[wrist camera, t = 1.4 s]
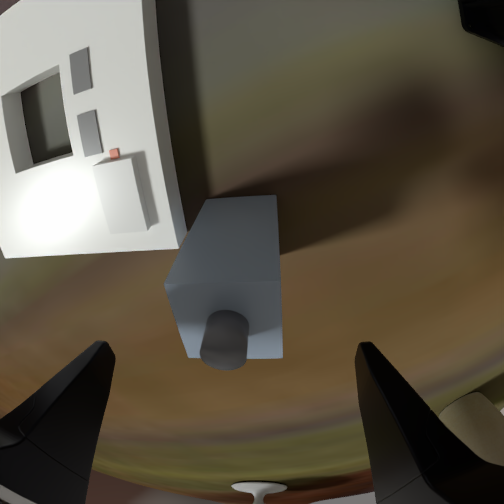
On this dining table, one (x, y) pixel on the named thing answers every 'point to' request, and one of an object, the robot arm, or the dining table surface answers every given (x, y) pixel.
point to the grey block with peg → (229, 283)
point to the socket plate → (87, 132)
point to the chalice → (259, 489)
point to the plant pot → (477, 426)
